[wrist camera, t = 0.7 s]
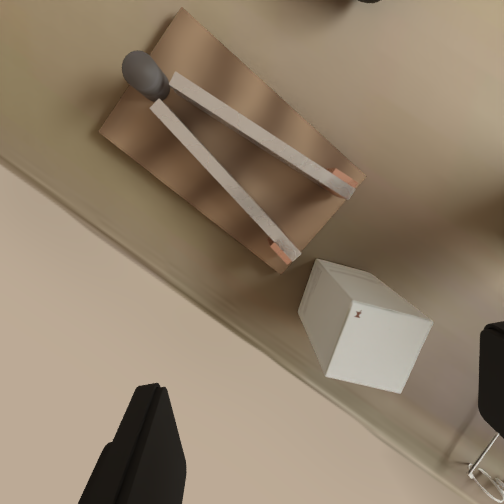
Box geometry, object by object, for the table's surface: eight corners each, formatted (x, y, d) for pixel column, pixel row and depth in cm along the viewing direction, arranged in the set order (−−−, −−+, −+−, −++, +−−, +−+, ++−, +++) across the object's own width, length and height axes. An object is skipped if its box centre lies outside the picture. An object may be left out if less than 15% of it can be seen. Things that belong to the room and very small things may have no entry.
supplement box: (295, 312, 39) (320, 377, 26) (315, 256, 37) (352, 297, 25) (351, 327, 39) (401, 397, 27) (373, 272, 38) (437, 320, 25)
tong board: (104, 133, 33) (71, 124, 26) (184, 14, 30) (169, -27, 24) (279, 270, 37) (287, 290, 31) (361, 176, 35) (388, 176, 28)
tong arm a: (176, 94, 30) (168, 84, 27) (185, 76, 30) (178, 64, 27) (337, 197, 33) (348, 200, 30) (347, 182, 33) (359, 183, 29)
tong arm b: (155, 119, 31) (144, 113, 27) (168, 106, 31) (159, 98, 27) (283, 256, 35) (288, 265, 31) (295, 245, 34) (301, 253, 31)
